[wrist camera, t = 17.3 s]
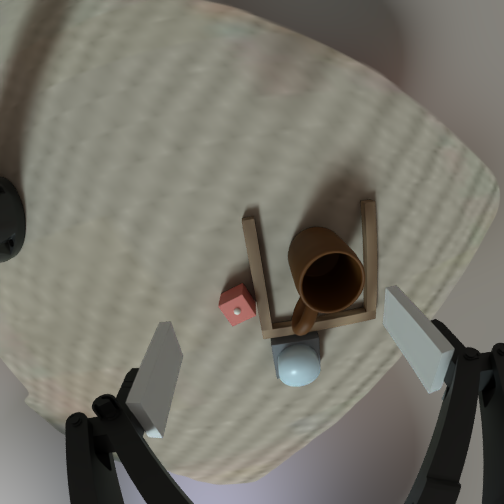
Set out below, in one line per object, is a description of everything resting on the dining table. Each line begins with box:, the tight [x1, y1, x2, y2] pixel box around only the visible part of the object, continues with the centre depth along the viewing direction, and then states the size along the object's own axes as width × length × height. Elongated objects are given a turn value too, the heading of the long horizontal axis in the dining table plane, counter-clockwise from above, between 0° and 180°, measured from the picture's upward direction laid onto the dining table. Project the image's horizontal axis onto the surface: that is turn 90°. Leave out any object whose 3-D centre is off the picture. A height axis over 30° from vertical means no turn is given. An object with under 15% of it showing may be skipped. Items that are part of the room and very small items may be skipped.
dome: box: [278, 344, 320, 386], centre depth 40 cm, size 6×6×3 cm
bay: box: [242, 200, 377, 339], centre depth 38 cm, size 17×18×2 cm
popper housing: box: [271, 331, 320, 378], centre depth 42 cm, size 7×7×2 cm
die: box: [218, 283, 256, 326], centre depth 38 cm, size 4×4×4 cm
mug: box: [288, 227, 365, 336], centre depth 34 cm, size 12×8×9 cm, turn 158°
